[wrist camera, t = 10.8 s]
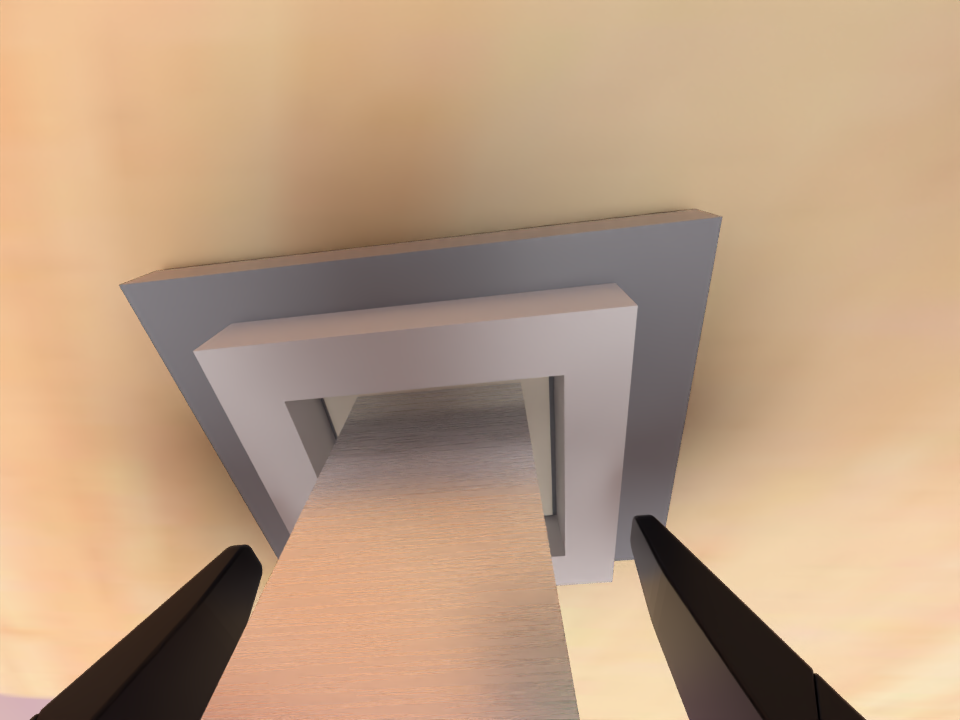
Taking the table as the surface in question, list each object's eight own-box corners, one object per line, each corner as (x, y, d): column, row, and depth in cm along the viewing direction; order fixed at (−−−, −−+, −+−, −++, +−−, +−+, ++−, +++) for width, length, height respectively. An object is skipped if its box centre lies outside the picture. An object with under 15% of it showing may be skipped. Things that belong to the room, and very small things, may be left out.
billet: (520, 382, 10) (606, 864, 3) (527, 498, 13) (588, 938, 6) (357, 397, 11) (123, 877, 4) (392, 508, 13) (287, 945, 6)
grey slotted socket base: (695, 209, 10) (767, 229, 7) (647, 529, 15) (677, 599, 13) (155, 271, 10) (58, 308, 8) (304, 554, 16) (274, 625, 14)
